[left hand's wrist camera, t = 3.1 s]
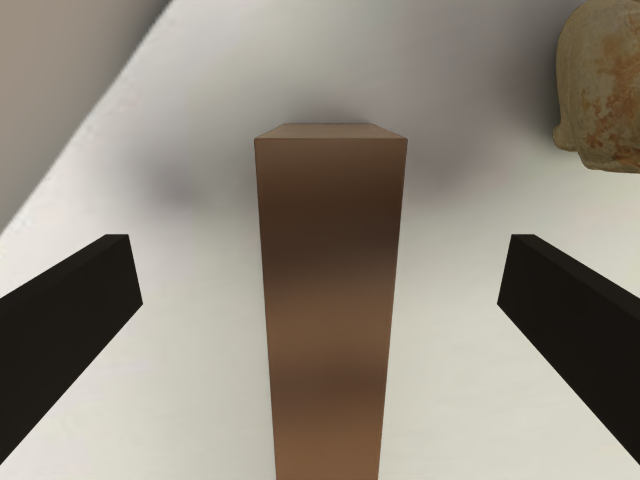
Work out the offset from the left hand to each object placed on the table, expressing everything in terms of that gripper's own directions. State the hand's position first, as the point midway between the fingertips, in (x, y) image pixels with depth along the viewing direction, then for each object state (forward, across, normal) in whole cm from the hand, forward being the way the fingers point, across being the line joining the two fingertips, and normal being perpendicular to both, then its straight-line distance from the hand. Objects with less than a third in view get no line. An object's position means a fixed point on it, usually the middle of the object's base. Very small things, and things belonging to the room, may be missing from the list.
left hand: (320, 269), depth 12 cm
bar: (+8, 0, -13) cm, 16 cm away
